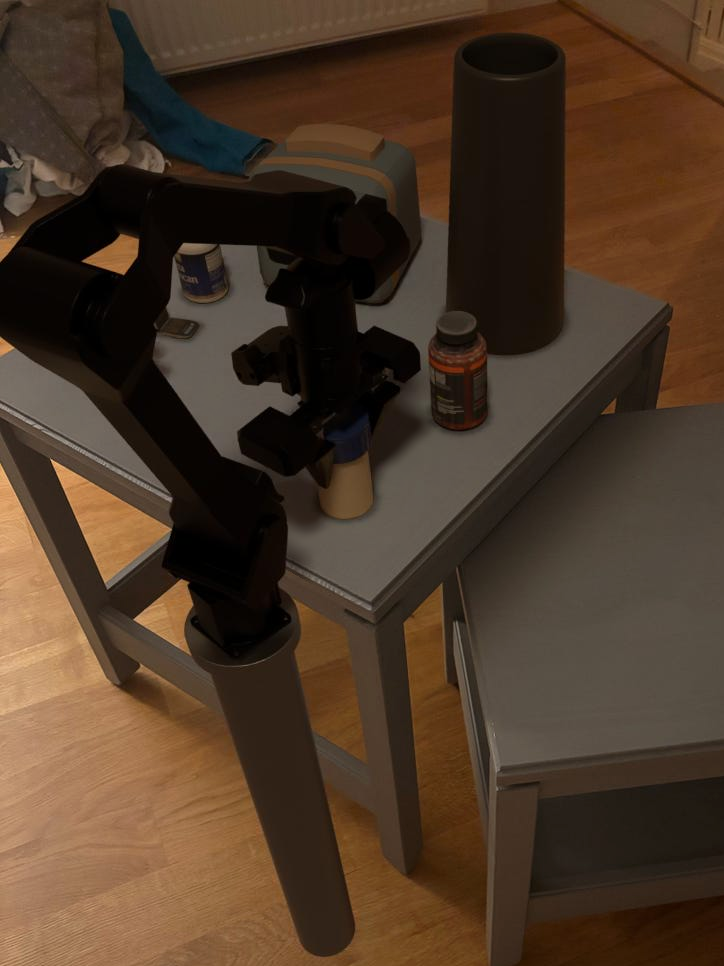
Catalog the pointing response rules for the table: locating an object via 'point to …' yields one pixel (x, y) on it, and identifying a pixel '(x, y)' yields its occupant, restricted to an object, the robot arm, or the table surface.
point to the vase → (508, 190)
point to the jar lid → (349, 433)
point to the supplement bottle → (458, 372)
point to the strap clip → (174, 325)
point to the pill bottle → (201, 272)
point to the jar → (348, 489)
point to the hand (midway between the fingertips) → (342, 469)
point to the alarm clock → (348, 181)
